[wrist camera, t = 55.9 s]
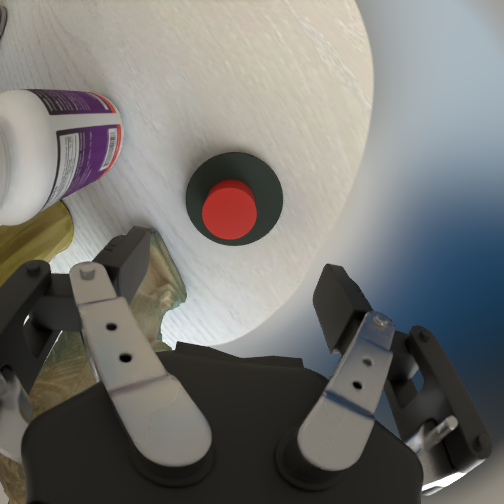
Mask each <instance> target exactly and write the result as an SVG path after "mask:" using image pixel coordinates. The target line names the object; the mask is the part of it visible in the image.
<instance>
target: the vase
mask: <svg viewBox="0 0 504 504" xmlns="http://www.w3.org/2000/svg"><path fill="white" fill-rule="evenodd" d="M72 238H73V223H72V219H71V216H70V214H69V212H68V210H67V208H66V207H65V206H64V204H63V203H62V202H61V201H58V202H56V203H54V204H53V205H51V206H49V207H48V208H46V209H45V210H43V211H41V212H40V213H38V214H37V215H35V216H34V217H33V218H31V219H29V220H28V221H26V222H24V223H21V224H18V225H13V226H7V225H1V226H0V287H1V285H2V284H3V283H4V282H5V281H6V280H7V279H8V278H9V277H10V276H11V275H12V274H13V273H14V272H15V271H16V270H17V269H18V268H19V267H20V266H21V265H22V264H23V263H25V262H27V261H30V260H44V261H46V262H50V261H51V260H52V259H53V258H54V257H55V256H56V255H57V254H58V253H59V252H61V251H63V250H65V249H66V248H67V247H68V246H69V245H70V243H71V241H72Z"/></svg>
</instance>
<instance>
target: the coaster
mask: <svg viewBox="0 0 504 504" xmlns="http://www.w3.org/2000/svg"><path fill="white" fill-rule="evenodd" d="M227 179H235V180H239V181H241V182H243V183H245V184H246V185H247V186H248V187H249V188H250V189H251V191H252V192H253V195H254V199H255V204H256V210H257V218H256V221H255V224H254V226H253V227H252V229H251V230H250V231H249V232H248V233H247V234H245V235H244V236H242V237H240V238H236V239H223V238H220V237H217V236H215V235H214V234H212V233H211V232H210V231H209V230H208V229H207V227H206V226H205V224H204V221H203V217H202V210H203V206H204V203H205V201H206V198H207V196H208V194H209V192H210V190H211V188H212V187H213V186H214V185H215V184H217V183H218V182H220V181H223V180H227ZM186 207H187V211H188V215H189V217H190V219H191V221H192V223H193V224H194V226H195V227H196V228H197V230H198V231H199V232H200V233H201V234H203V235H204V236H205V237H207V238H208V239H210V240H212V241H214V242H216V243H219V244H223V245H229V246H240V245H246V244H249V243H252V242H255V241H257V240H259V239H260V238H262V237H264V236H265V235H266V234H267V233H269V231H270V230H271V229H272V228H273V227H274V226H275V224H276V223H277V221H278V219H279V217H280V214H281V211H282V207H283V193H282V188H281V185H280V182H279V180H278V178H277V176H276V174H275V173H274V171H273V170H272V169H271V168H270V167H269V166H268V165H267V164H266V163H265V162H263V161H262V160H260V159H259V158H257V157H255V156H252V155H249V154H246V153H240V152H230V153H224V154H220V155H217V156H214V157H212V158H211V159H209V160H207V161H206V162H204V163H203V164H202V165H201V166H200V167H199V168H198V169H197V170H196V172H195V173H194V174H193V176H192V178H191V179H190V182H189V184H188V187H187V192H186Z"/></svg>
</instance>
